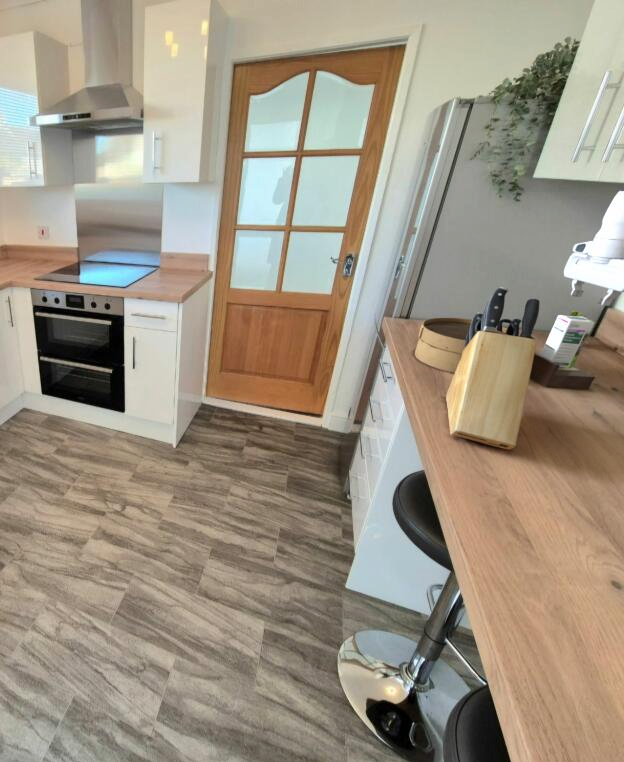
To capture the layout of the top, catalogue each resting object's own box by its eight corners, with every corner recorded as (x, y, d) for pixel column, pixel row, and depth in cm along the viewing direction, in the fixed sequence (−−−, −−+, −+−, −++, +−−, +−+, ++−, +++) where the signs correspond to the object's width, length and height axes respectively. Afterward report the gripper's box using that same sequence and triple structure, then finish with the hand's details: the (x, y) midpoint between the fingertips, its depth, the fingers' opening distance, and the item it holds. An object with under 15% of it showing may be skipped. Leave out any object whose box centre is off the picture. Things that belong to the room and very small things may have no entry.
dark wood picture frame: (547, 366, 137) (557, 346, 134) (588, 389, 123) (600, 367, 120) (508, 364, 139) (517, 344, 136) (545, 386, 125) (556, 365, 121)
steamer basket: (399, 358, 144) (409, 326, 139) (429, 342, 157) (439, 312, 152) (490, 384, 126) (506, 349, 121) (515, 363, 139) (530, 331, 134)
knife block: (492, 394, 120) (540, 285, 107) (511, 457, 94) (579, 323, 80) (443, 384, 126) (483, 279, 112) (449, 441, 100) (502, 313, 86)
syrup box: (548, 366, 127) (571, 319, 121) (537, 359, 132) (558, 313, 126) (572, 368, 126) (596, 321, 119) (559, 361, 131) (582, 315, 124)
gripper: (666, 256, 104) (636, 311, 110) (594, 244, 123) (573, 291, 129) (635, 256, 105) (608, 310, 111) (569, 244, 123) (549, 291, 129)
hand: (589, 300), depth 120 cm, fingers open, 8 cm apart
